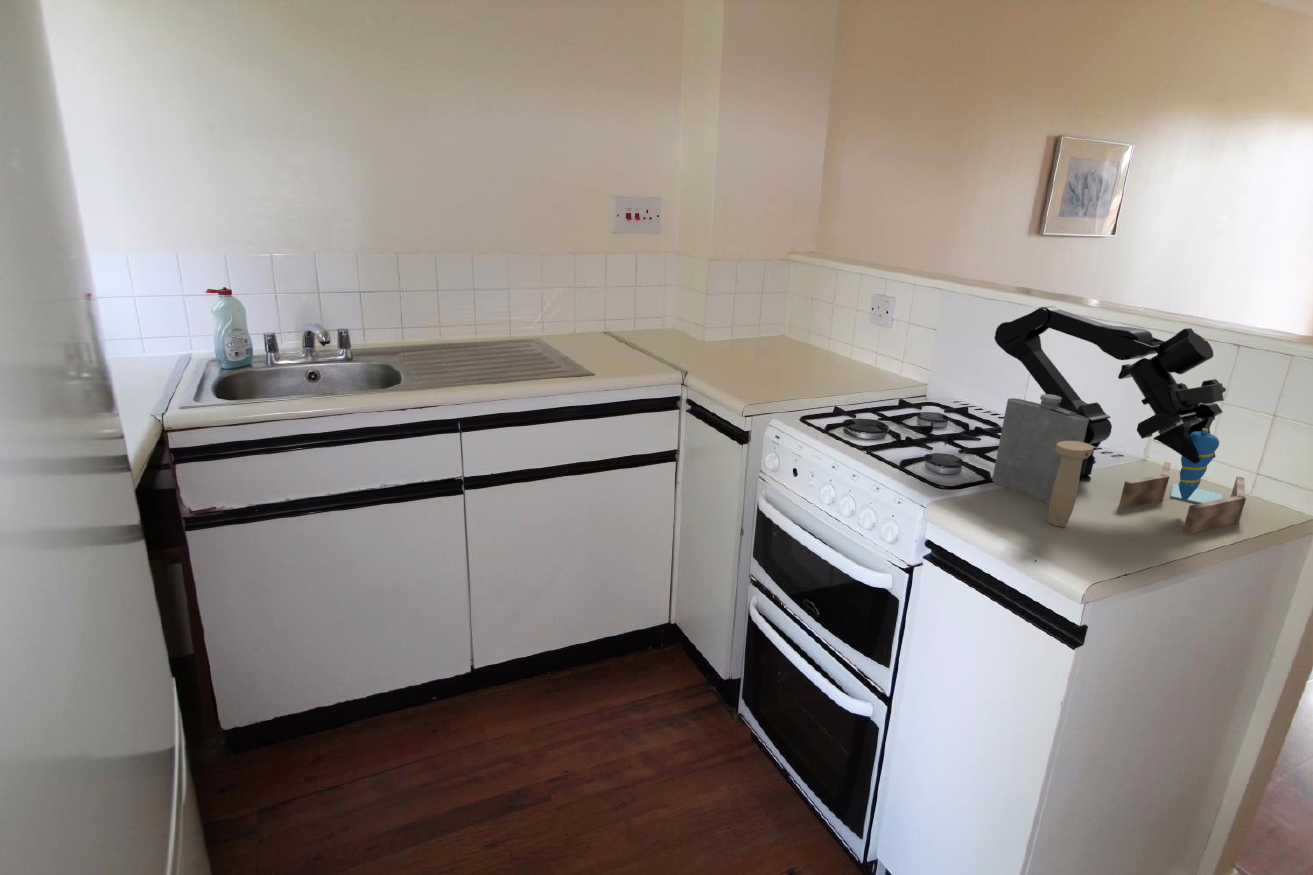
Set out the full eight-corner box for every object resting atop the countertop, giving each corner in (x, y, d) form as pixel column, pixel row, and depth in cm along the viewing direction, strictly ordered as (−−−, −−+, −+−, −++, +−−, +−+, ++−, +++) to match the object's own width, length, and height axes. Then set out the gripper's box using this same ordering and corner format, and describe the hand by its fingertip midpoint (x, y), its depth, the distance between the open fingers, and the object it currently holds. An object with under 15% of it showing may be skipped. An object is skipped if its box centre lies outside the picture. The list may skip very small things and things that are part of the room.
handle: (1081, 526, 136) (1100, 447, 131) (1057, 532, 133) (1075, 452, 129) (1057, 516, 140) (1075, 439, 135) (1033, 521, 138) (1050, 443, 133)
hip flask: (988, 481, 156) (1006, 387, 150) (1000, 477, 158) (1019, 385, 152) (1062, 509, 144) (1085, 407, 137) (1074, 505, 146) (1098, 405, 139)
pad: (1221, 508, 147) (1222, 507, 146) (1170, 497, 151) (1170, 495, 151) (1221, 496, 153) (1222, 494, 153) (1172, 485, 158) (1173, 483, 158)
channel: (1146, 530, 136) (1153, 504, 134) (1089, 478, 160) (1094, 456, 158) (1301, 543, 133) (1310, 517, 131) (1219, 489, 157) (1226, 466, 155)
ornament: (1199, 500, 143) (1222, 424, 139) (1201, 509, 139) (1225, 431, 134) (1167, 493, 146) (1189, 419, 141) (1168, 501, 142) (1190, 425, 137)
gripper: (1171, 369, 133) (1223, 448, 128) (1225, 360, 142) (1275, 434, 137) (1116, 400, 142) (1162, 475, 137) (1169, 390, 151) (1214, 460, 146)
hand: (1205, 460), depth 139 cm, fingers closed on ornament, 5 cm apart
